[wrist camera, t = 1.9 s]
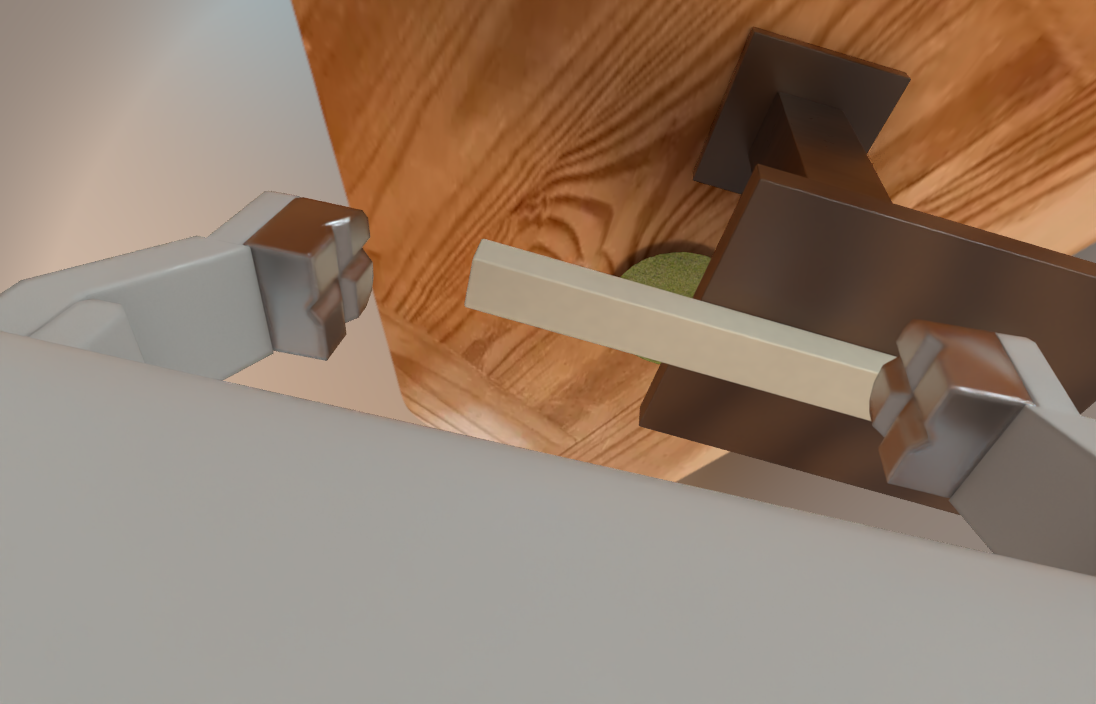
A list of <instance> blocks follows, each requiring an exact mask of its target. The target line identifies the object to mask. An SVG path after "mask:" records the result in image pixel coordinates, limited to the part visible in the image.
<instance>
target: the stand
mask: <svg viewBox="0 0 1096 704" xmlns="http://www.w3.org/2000/svg"><path fill="white" fill-rule="evenodd" d="M910 80H911V78H910V77H909V76H908V75H907V74H906V73H905V72H901V71H898V70H895V69H891V68H888V67H885V66H882V65H878V64H875V63H872V62H868V61H865V60H862V59H858V58H855V57H852V56H848V55H845V54H842V53H839V52H835V51H832V50H829V49H825V48H822V47H819V46H815V45H812V44H809V43H806V42H802V41H799V40H796V39H792V38H789V37H786V36H782V35H779V34H776V33H773V32H769V31H766V30H763V29H759V28H756V27H753V28H752V30H751V33H750V35H749V37H748V40H747V42H746V45H745V47H744V49H743V52H742V54H741V57H740V59H739V62H738V64H737V66H736V69H735V71H734V74H733V76H732V79H731V81H730V83H729V86H728V88H727V91H726V93H725V95H724V98H723V100H722V103H721V105H720V108H719V110H718V112H717V115H716V117H715V120H714V122H713V125H712V127H711V129H710V132H709V134H708V137H707V139H706V141H705V144H704V146H703V149H702V151H701V154H700V156H699V158H698V161H697V163H696V166H695V168H694V171H693V180H694V181H697V182H701V183H704V184H708V185H711V186H714V187H718V188H721V189H725V190H728V191H732V192H735V193H738V194H742V195H741V198H740V200H739V202H738V204H737V206H736V208H735V210H734V212H733V214H732V216H731V218H730V220H729V223H728V225H727V227H726V229H725V231H724V233H723V235H722V237H721V239H720V241H719V243H718V246H717V248H716V250H715V252H714V254H713V256H712V258H711V260H710V262H709V264H708V266H707V268H706V271H705V273H704V275H703V277H702V279H701V281H700V283H699V285H698V287H697V289H696V291H695V293H694V296H693V299H696V300H700V301H703V302H707V303H710V304H714V305H717V306H721V307H724V308H728V309H731V310H735V311H738V312H742V313H745V314H749V315H752V316H756V317H759V318H763V319H766V320H770V321H773V322H777V323H780V324H784V325H787V326H791V327H794V328H798V329H801V330H805V331H808V332H812V333H815V334H819V335H822V336H826V337H829V338H833V339H836V340H840V341H843V342H847V343H850V344H854V345H857V346H861V347H864V348H868V349H871V350H875V351H878V352H882V353H885V354H889V355H892V356H896V357H898V356H900V353H899V349H898V346H897V343H896V341H897V339H898V338H899V336H900V334H901V333H902V331H903V329H904V328H905V327H906V326H907V325H908V324H909V323H910V322H911V321H912V320H913V319H916V320H924V321H930V322H936V323H942V324H948V325H954V326H959V327H965V328H971V329H977V330H983V331H989V332H994V333H1001V334H1007V335H1013V336H1020V337H1026V338H1028V339H1030V340H1031V341H1033V342H1035V343H1036V344H1037V346H1038V348H1039V349H1040V351H1041V353H1042V354H1043V356H1044V357H1045V359H1046V361H1047V362H1048V364H1049V365H1050V367H1051V369H1052V370H1053V372H1054V374H1055V375H1056V377H1057V378H1058V380H1059V382H1060V383H1061V385H1062V386H1063V388H1064V390H1065V391H1066V393H1067V395H1068V396H1069V398H1070V399H1071V401H1072V403H1073V404H1074V406H1075V407H1076V409H1077V411H1078V412H1079V414H1081V413H1083V412H1084V411H1085V410H1086V409H1087V408H1088V407H1090V406H1091V405H1092V404H1093V403H1094V402H1095V401H1096V263H1093V262H1090V261H1086V260H1083V259H1079V258H1076V257H1073V256H1069V255H1066V254H1063V253H1059V252H1056V251H1052V250H1049V249H1046V248H1042V247H1039V246H1035V245H1032V244H1029V243H1025V242H1022V241H1018V240H1015V239H1012V238H1008V237H1005V236H1002V235H998V234H995V233H991V232H988V231H985V230H981V229H978V228H974V227H971V226H968V225H964V224H961V223H957V222H954V221H951V220H947V219H944V218H940V217H937V216H934V215H930V214H927V213H924V212H920V211H917V210H913V209H910V208H907V207H903V206H900V205H896V204H893V203H892V201H891V199H890V198H889V196H888V194H887V192H886V190H885V188H884V186H883V184H882V183H881V181H880V179H879V177H878V175H877V173H876V171H875V169H874V168H873V166H872V164H871V162H870V160H869V158H868V156H867V153H868V151H869V149H870V148H871V146H872V144H873V143H874V141H875V139H876V137H877V136H878V134H879V132H880V131H881V129H882V127H883V126H884V124H885V122H886V121H887V119H888V117H889V116H890V114H891V112H892V111H893V109H894V107H895V105H896V104H897V102H898V100H899V99H900V97H901V95H902V94H903V92H904V90H905V89H906V87H907V85H908V84H909V82H910ZM639 426H641V427H644V428H648V429H651V430H655V431H659V432H662V433H666V434H669V435H673V436H677V437H680V438H684V439H687V440H691V441H695V442H698V443H702V444H705V445H709V446H713V447H716V448H720V449H724V450H727V451H731V452H734V453H738V454H742V455H745V456H749V457H752V458H756V459H760V460H764V461H767V462H770V463H774V464H778V465H781V466H785V467H788V468H792V469H796V470H800V471H803V472H807V473H810V474H814V475H818V476H821V477H825V478H829V479H832V480H835V481H839V482H843V483H846V484H850V485H853V486H857V487H861V488H864V489H868V490H871V491H875V492H879V493H882V494H886V495H890V496H893V497H897V498H900V499H904V500H908V501H911V502H915V503H919V504H922V505H926V506H929V507H933V508H936V509H940V510H943V511H947V512H951V513H955V514H958V515H960V514H959V512H958V511H957V510H956V509H955V508H954V506H953V505H952V504H951V503H950V502H949V499H950V498H947V497H942V496H938V495H934V494H930V493H926V492H922V491H918V490H914V489H910V488H906V487H901V486H897V485H893V484H889V483H887V480H886V477H885V473H884V469H883V465H882V461H881V458H880V454H879V450H878V447H879V445H880V444H881V442H882V441H883V439H884V437H883V436H882V435H881V434H880V433H879V432H878V431H877V430H876V429H875V428H874V427H873V426H872V422H871V421H869V420H865V419H862V418H858V417H855V416H851V415H848V414H844V413H841V412H837V411H833V410H830V409H826V408H823V407H819V406H816V405H812V404H809V403H805V402H802V401H798V400H794V399H791V398H787V397H784V396H780V395H777V394H773V393H770V392H766V391H762V390H759V389H755V388H752V387H748V386H745V385H741V384H738V383H734V382H730V381H727V380H723V379H720V378H716V377H713V376H709V375H706V374H702V373H698V372H695V371H691V370H688V369H684V368H681V367H677V366H674V365H670V364H667V363H663V362H661V364H660V366H659V369H658V371H657V373H656V375H655V377H654V379H653V381H652V383H651V385H650V387H649V389H648V391H647V394H646V396H645V398H644V400H643V402H642V404H641V406H640V416H639Z"/></svg>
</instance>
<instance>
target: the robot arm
mask: <svg viewBox="0 0 1096 704" xmlns="http://www.w3.org/2000/svg"><path fill="white" fill-rule="evenodd" d="M369 238H370V230H369V222H368V217H367V216H366V214H365V213H364V212H363V210H359V209H355V208H350V207H345V206H341V205H336V204H332V203H327V202H322V201H317V200H313V199H308V198H304V197H303V198H301V197H299V196H296V195H290V194H285V193H279V192H272V191H271V192H270V191H265V192H263V193H262V194H261V195H259V196H258V197H257V198H256V199H254V200H253V201H252V202H251V203H249V204H248V205H247V206H246V207H244V208H243V209H242V210H241V211H239V212H238V213H237V214H235V215H234V216H233V217H232V218H230V219H229V220H228V221H227V222H225V223H224V224H223V225H222V226H220V227H219V228H218V229H217V230H215V231H214V232H213V233H212V234H210V235H209V236H208V237H207V238H205V237H200V236H194V237H190V238H186V239H182V240H178V241H174V242H170V243H166V244H162V245H158V246H154V247H151V248H147V249H143V250H138V251H135V252H131V253H127V254H123V255H119V256H115V257H111V258H107V259H103V260H99V261H95V262H91V263H87V264H83V265H80V266H75V267H72V268H68V269H64V270H60V271H56V272H52V273H48V274H44V275H40V276H36V277H32V278H28V279H24V280H21V281H19V282H18V283H16V284H14V285H13V286H12V287H10V288H9V289H7V290H5V291H4V292H2V293H1V294H0V704H1096V420H1095V419H1093V418H1088V417H1084V416H1080V414H1079V412H1078V411H1077V409H1076V407H1075V406H1074V404H1073V403H1072V401H1071V399H1070V398H1069V396H1068V395H1067V393H1066V391H1065V390H1064V388H1063V386H1062V385H1061V383H1060V382H1059V380H1058V378H1057V377H1056V375H1055V374H1054V372H1053V370H1052V369H1051V367H1050V365H1049V364H1048V362H1047V361H1046V359H1045V357H1044V356H1043V354H1042V353H1041V351H1040V349H1039V348H1038V346H1037V344H1036V343H1035V342H1033V341H1031V340H1030V339H1028V338H1026V337H1020V336H1013V335H1007V334H1001V333H994V332H989V331H983V330H977V329H971V328H965V327H959V326H954V325H948V324H942V323H936V322H930V321H924V320H916V319H913V320H912V321H911V322H910V323H909V324H908V325H907V326H906V327H905V328H904V329H903V331H902V333H901V334H900V336H899V338H898V339H897V341H896V343H897V346H898V349H899V353H900V356H898V357H897V358H895V359H893V360H891V361H889V362H887V363H886V364H884V365H882V367H881V369H880V371H879V373H878V375H877V377H876V379H875V381H874V383H873V387H872V391H871V395H870V399H869V414H870V418H871V422H872V426H873V427H874V428H875V429H876V430H877V431H878V432H879V433H880V434H881V435H882V436H883V437H884V439H883V441H882V442H881V444H880V445H879V447H878V450H879V454H880V458H881V461H882V465H883V469H884V473H885V477H886V480H887V483H889V484H893V485H897V486H901V487H906V488H910V489H914V490H918V491H922V492H926V493H930V494H934V495H938V496H942V497H947V498H950V499H949V502H950V503H951V504H952V505H953V506H954V508H955V509H956V510H957V511H958V512H959V514H960V515H961V516H962V517H963V518H964V519H965V521H966V522H967V523H968V524H969V525H970V526H971V528H972V529H973V530H974V531H975V532H976V534H977V535H978V536H979V537H980V538H981V539H982V540H983V542H984V543H985V544H986V545H987V547H989V549H990V550H991V551H992V552H993V553H988V552H984V551H980V550H975V549H970V548H966V547H962V546H957V545H953V544H948V543H944V542H939V541H935V540H930V539H925V538H921V537H916V536H913V535H908V534H903V533H899V532H895V531H890V530H885V529H881V528H877V527H872V526H868V525H863V524H859V523H855V522H850V521H846V520H841V519H836V518H832V517H828V516H823V515H819V514H814V513H810V512H805V511H801V510H796V509H792V508H788V507H783V506H779V505H774V504H770V503H765V502H760V501H756V500H752V499H748V498H743V497H738V496H734V495H730V494H725V493H721V492H716V491H712V490H707V489H703V488H698V487H694V486H689V485H685V484H680V483H676V482H672V481H667V480H663V479H658V478H654V477H649V476H645V475H640V474H636V473H632V472H627V471H623V470H618V469H614V468H609V467H605V466H600V465H596V464H592V463H587V462H583V461H578V460H574V459H569V458H565V457H560V456H556V455H551V454H547V453H543V452H538V451H534V450H529V449H525V448H520V447H516V446H511V445H507V444H502V443H498V442H494V441H489V440H485V439H480V438H476V437H471V436H467V435H462V434H458V433H453V432H449V431H445V430H440V429H436V428H431V427H427V426H422V425H417V424H413V423H409V422H405V421H400V420H396V419H391V418H386V417H382V416H378V415H373V414H369V413H364V412H360V411H355V410H351V409H346V408H342V407H338V406H333V405H329V404H324V403H320V402H315V401H311V400H306V399H302V398H297V397H293V396H289V395H284V394H280V393H275V392H271V391H266V390H262V389H257V388H253V387H249V386H244V385H240V384H235V383H231V382H226V381H223V380H224V379H226V378H228V377H230V376H232V375H234V374H236V373H238V372H239V371H241V370H243V369H245V368H247V367H249V366H251V365H253V364H254V363H256V362H258V361H260V360H262V359H264V358H266V357H267V356H269V355H271V354H273V351H278V352H284V353H289V354H294V355H299V356H304V357H310V358H315V359H321V360H325V361H327V360H328V359H329V357H330V356H331V354H332V353H333V352H334V350H335V349H336V348H337V346H338V345H339V344H340V342H341V341H342V339H343V338H344V337H345V335H346V327H345V323H346V322H349V321H351V320H354V319H356V318H358V317H359V316H360V315H361V313H362V312H363V310H364V309H365V308H366V306H367V303H368V300H369V297H370V294H371V291H372V284H373V263H372V261H371V259H370V258H369V256H368V255H367V254H366V252H365V251H364V250H363V248H362V247H363V245H364V244H365V243H366V242H367V240H368V239H369Z"/></svg>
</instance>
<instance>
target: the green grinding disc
mask: <svg viewBox="0 0 1096 704" xmlns="http://www.w3.org/2000/svg"><path fill="white" fill-rule="evenodd" d="M710 260H711V258H710V257H708V256H704V255H701V254H694V253H688V252H677V253H676V252H674V253H668V254H660V255H657V256H654V257H649V258H648V259H644V260H643V261H641V262H639V263H637V264H635V265H633V266H632V267H631V268H630V269H629V270H628V271H626V272H625V273H624V274H623V275H622V276H621V277H620V278H623V279H626V280H630V281H633V282H637V283H640V284H644V285H647V286H651V287H654V288H658V289H661V290H665V291H668V292H672V293H675V294H679V295H682V296H686V297H689V298H693V296H694V293H695V291H696V289H697V287H698V285H699V283H700V281H701V279H702V277H703V275H704V273H705V271H706V268H707V266H708V264H709V262H710ZM634 355H635V354H634ZM637 356H638V355H637ZM639 357H640V358H642V359H645V360H647V361H650V362H653V363H656V364H661V362H659V361H656V360H652V359H649V358H645V357H642V356H639Z"/></svg>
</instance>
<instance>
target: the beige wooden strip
mask: <svg viewBox="0 0 1096 704" xmlns="http://www.w3.org/2000/svg"><path fill="white" fill-rule="evenodd" d="M465 307H468V308H471V309H475V310H478V311H482V312H485V313H489V314H492V315H496V316H500V317H503V318H507V319H510V320H514V321H517V322H521V323H524V324H528V325H532V326H535V327H539V328H542V329H546V330H549V331H553V332H556V333H560V334H563V335H567V336H571V337H574V338H578V339H581V340H585V341H588V342H592V343H595V344H599V345H603V346H606V347H610V348H613V349H617V350H620V351H624V352H627V353H631V354H635V355H638V356H642V357H645V358H649V359H652V360H656V361H659V362H663V363H667V364H670V365H674V366H677V367H681V368H684V369H688V370H691V371H695V372H698V373H702V374H706V375H709V376H713V377H716V378H720V379H723V380H727V381H730V382H734V383H738V384H741V385H745V386H748V387H752V388H755V389H759V390H762V391H766V392H770V393H773V394H777V395H780V396H784V397H787V398H791V399H794V400H798V401H802V402H805V403H809V404H812V405H816V406H819V407H823V408H826V409H830V410H833V411H837V412H841V413H844V414H848V415H851V416H855V417H858V418H862V419H865V420H869V421H871V418H870V414H869V399H870V395H871V391H872V387H873V383H874V381H875V379H876V377H877V375H878V373H879V371H880V369H881V367H882V365H884V364H886V363H887V362H889V361H891V360H893V359H895V358H897V357H896V356H892V355H889V354H885V353H882V352H878V351H875V350H871V349H868V348H864V347H861V346H857V345H854V344H850V343H847V342H843V341H840V340H836V339H833V338H829V337H826V336H822V335H819V334H815V333H812V332H808V331H805V330H801V329H798V328H794V327H791V326H787V325H784V324H780V323H777V322H773V321H770V320H766V319H763V318H759V317H756V316H752V315H749V314H745V313H742V312H738V311H735V310H731V309H728V308H724V307H721V306H717V305H714V304H710V303H707V302H703V301H700V300H696V299H693V298H689V297H686V296H682V295H679V294H675V293H672V292H668V291H665V290H661V289H658V288H654V287H651V286H647V285H644V284H640V283H637V282H633V281H630V280H626V279H623V278H619V277H616V276H612V275H609V274H605V273H602V272H598V271H595V270H591V269H588V268H584V267H581V266H577V265H574V264H570V263H567V262H563V261H560V260H556V259H553V258H549V257H546V256H542V255H539V254H535V253H532V252H528V251H525V250H521V249H518V248H514V247H511V246H507V245H504V244H500V243H497V242H493V241H490V240H486V239H482V240H481V242H480V244H479V246H478V249H477V251H476V253H475V255H474V257H473V261H472V267H471V272H470V277H469V283H468V288H467V293H466V299H465Z"/></svg>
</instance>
